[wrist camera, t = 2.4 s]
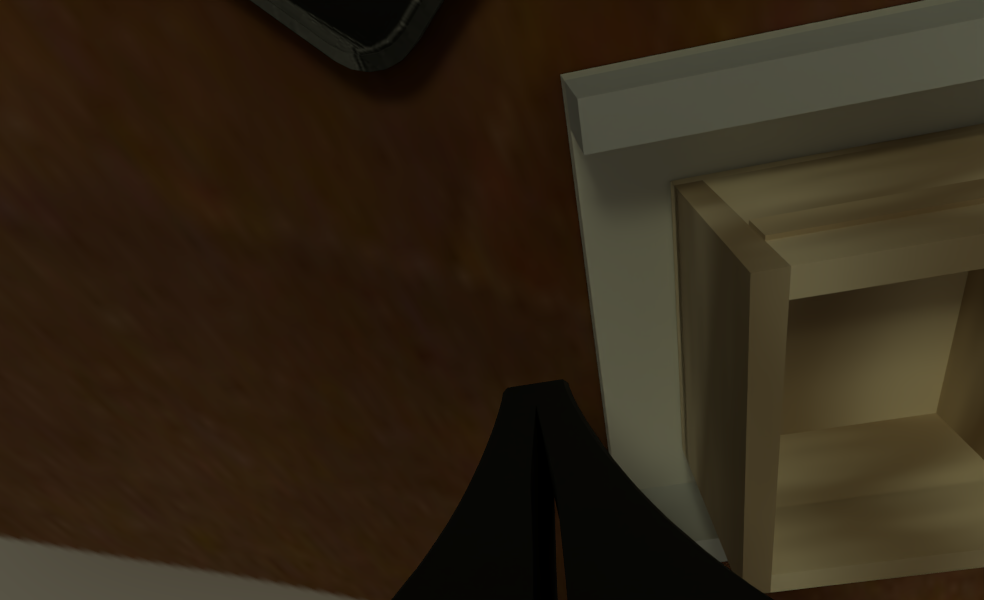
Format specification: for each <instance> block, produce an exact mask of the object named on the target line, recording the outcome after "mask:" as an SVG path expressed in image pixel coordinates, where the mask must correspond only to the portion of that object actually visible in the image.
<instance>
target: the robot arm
mask: <svg viewBox="0 0 984 600" xmlns="http://www.w3.org/2000/svg"><path fill="white" fill-rule="evenodd" d="M554 497H555V501H556V506H557V510H558V514H559V519H560V527H561V537H562V546H563V556H564V566H565V576H566V587H567V598H568V600H773V599H771V598H770V597H768V596H767V595H765V594H764V593H763V592H761V591H760V590H758V589H757V588H755V587H754V586H752V585H751V584H749V583H748V582H747V581H745V580H744V579H742V578H741V577H740V576H738V575H737V574H735V573H734V572H733V571H731V570H730V569H729V568H727V567H726V566H725V565H723V564H722V563H721V562H720V561H718V560H717V559H716V558H714V557H713V556H712V555H711V554H709V553H708V552H707V551H705V550H704V549H703V548H702V547H701V546H700V545H698V544H697V543H696V542H695V541H694V540H693V539H691V538H690V537H689V536H688V535H687V534H686V533H685V532H683V531H682V530H681V529H680V528H679V527H678V526H676V525H675V524H674V523H673V522H672V521H671V520H670V519H669V518H667V517H666V516H665V515H664V514H663V513H662V512H661V511H660V510H659V509H658V508H657V507H656V506H655V505H654V504H653V503H652V502H651V501H650V500H649V499H648V498H647V497H646V496H645V495H644V493H643V492H642V491H641V490H640V489H639V488H638V487H637V486H636V485H635V484H634V483H633V482H632V480H631V479H630V478H629V477H628V476H627V475H626V473H625V472H624V471H623V470H622V469H621V467H620V466H619V465H618V464H617V462H616V461H615V460H614V459H613V458H612V456H611V455H610V454H609V452H608V451H607V450H606V448H605V447H604V446H603V444H602V443H601V441H600V440H599V438H598V437H597V436H596V434H595V433H594V431H593V430H592V428H591V427H590V425H589V424H588V422H587V421H586V419H585V417H584V416H583V414H582V412H581V410H580V409H579V407H578V405H577V403H576V401H575V399H574V397H573V395H572V393H571V390H570V388H569V384H568V383H567V382H566V381H564V380H563V379H562V380H555V381H549V382H542V383H536V384H529V385H523V386H516V387H510V388H507V389H506V390H505V391H504V393H503V397H502V401H501V405H500V409H499V413H498V416H497V419H496V422H495V425H494V428H493V431H492V433H491V436H490V438H489V441H488V443H487V446H486V449H485V451H484V454H483V456H482V458H481V461H480V463H479V465H478V467H477V469H476V471H475V473H474V475H473V478H472V480H471V482H470V484H469V486H468V488H467V490H466V492H465V494H464V496H463V497H462V499H461V501H460V503H459V505H458V507H457V508H456V510H455V512H454V513H453V515H452V517H451V518H450V520H449V522H448V523H447V525H446V527H445V528H444V530H443V531H442V533H441V534H440V536H439V537H438V539H437V540H436V542H435V543H434V545H433V546H432V548H431V549H430V551H429V552H428V554H427V555H426V556H425V558H424V559H423V561H422V562H421V563H420V565H419V566H418V567H417V569H416V570H415V571H414V572H413V574H412V575H411V576H410V577H409V579H408V580H407V581H406V582H405V584H404V585H403V586H402V587H401V589H400V590H399V591H398V592H397V594H396V595H395V596H394V597H393V599H392V600H558V598H557V573H556V540H555V509H554Z"/></svg>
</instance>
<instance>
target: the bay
mask: <svg viewBox="0 0 984 600" xmlns="http://www.w3.org/2000/svg"><path fill="white" fill-rule="evenodd" d="M560 76H561V84H562V92H563V99H564V107H565V115H566V123H567V131H568V138H569V146H570V154H571V162H572V170H573V177H574V185H575V193H576V201H577V209H578V216H579V224H580V232H581V240H582V248H583V255H584V263H585V271H586V279H587V287H588V294H589V302H590V310H591V318H592V326H593V333H594V341H595V349H596V357H597V365H598V372H599V380H600V388H601V396H602V404H603V411H604V419H605V427H606V435H607V443H608V450H609V454H610V455H611V456H612V458H613V459H614V460H615V461H616V462H617V464H618V465H619V466H620V467H621V469H622V470H623V471H624V472H625V473H626V475H627V476H628V477H629V478H630V479H631V480H632V482H633V483H634V484H635V485H636V486H637V487H638V488H639V489H640V490H641V491H642V492H643V493H644V495H645V496H646V497H647V498H648V499H649V500H650V501H651V502H652V503H653V504H654V505H655V506H656V507H657V508H658V509H659V510H660V511H661V512H662V513H663V514H664V515H665V516H666V517H667V518H669V519H670V520H671V521H672V522H673V523H674V524H675V525H676V526H678V527H679V528H680V529H681V530H682V531H683V532H685V533H686V534H687V535H688V536H689V537H690V538H691V539H693V540H694V541H695V542H696V543H697V544H698V545H700V546H701V547H702V548H703V549H704V550H705V551H707V552H708V553H709V554H711V555H712V556H713V557H714V558H716V559H717V560H718V561H720V562H724V561H728V560H727V557H726V555H725V552H724V550H723V548H722V545H721V543H720V540H719V538H718V535H717V533H716V530H715V528H714V525H713V523H712V520H711V518H710V515H709V513H708V511H707V508H706V506H705V503H704V501H703V498H702V496H701V493H700V491H699V488H698V486H697V483H696V481H695V479H694V476H693V474H692V471H691V469H690V466H689V464H688V461H687V459H686V456H685V454H684V451H683V449H682V428H681V405H680V383H679V361H678V339H677V317H676V294H675V272H674V250H673V228H672V206H671V183H670V181H674V180H679V179H684V178H690V177H695V176H701V175H706V174H712V173H717V172H723V171H728V170H733V169H739V168H744V167H750V166H755V165H761V164H766V163H771V162H777V161H782V160H788V159H793V158H799V157H804V156H810V155H815V154H820V153H826V152H831V151H837V150H842V149H848V148H853V147H858V146H864V145H869V144H875V143H880V142H886V141H891V140H896V139H902V138H907V137H913V136H918V135H924V134H929V133H935V132H940V131H945V130H951V129H956V128H962V127H967V126H973V125H978V124H983V123H984V0H924V1H919V2H914V3H909V4H904V5H899V6H894V7H889V8H884V9H880V10H875V11H870V12H865V13H860V14H855V15H850V16H845V17H840V18H835V19H830V20H826V21H821V22H816V23H811V24H806V25H801V26H796V27H791V28H786V29H781V30H776V31H772V32H767V33H762V34H757V35H752V36H747V37H742V38H737V39H732V40H727V41H722V42H718V43H713V44H708V45H703V46H698V47H693V48H688V49H683V50H678V51H673V52H668V53H663V54H659V55H654V56H649V57H644V58H639V59H634V60H629V61H624V62H619V63H614V64H609V65H605V66H600V67H595V68H590V69H585V70H580V71H575V72H570V73H565V74H560Z"/></svg>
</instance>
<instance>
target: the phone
mask: <svg viewBox="0 0 984 600" xmlns="http://www.w3.org/2000/svg"><path fill="white" fill-rule="evenodd" d="M250 1H252V2H253V3H254V4H256V5H257V6H259V7H260V8H261V9H263V10H264V11H266V12H267V13H268V14H270V15H271V16H273V17H274V18H275V19H277V20H278V21H280V22H281V23H282V24H284V25H285V26H286V27H288V28H289V29H291V30H292V31H293V32H295V33H296V34H298V35H299V36H300V37H302V38H303V39H305V40H306V41H307V42H309V43H310V44H312V45H313V46H314V47H316V48H317V49H319V50H320V51H321V52H323V53H324V54H326V55H327V56H328V57H330V58H331V59H332V60H334V61H336V62H338V63H340V64H342V65H344V66H346V67H348V68H349V69H353V70H359V71H365V72H373V71H379V70H385V69H387V68H389V67H391V66H393V65H395V64H396V63H398V62H400V61H402V60H403V59H404V58H405V57H406V56H407V55H408V53H409V52H410V51H411V50H412V49H413V48H414V47H415V45H416V44H417V43H418V42H419V40H420V38H421V37H422V35H423V34H424V32H425V30H426V29H427V27H428V25H429V24H430V22H431V21H432V20H431V19H433V16H435V14H436V12H437V11H438V9H439V8H440V6H441V4H442V3H443V1H444V0H250Z"/></svg>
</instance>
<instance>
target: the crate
mask: <svg viewBox="0 0 984 600" xmlns="http://www.w3.org/2000/svg"><path fill="white" fill-rule="evenodd" d="M670 183H671V206H672V228H673V250H674V272H675V294H676V317H677V339H678V361H679V383H680V405H681V428H682V449H683V451H684V454H685V456H686V459H687V461H688V464H689V466H690V469H691V471H692V474H693V476H694V479H695V481H696V483H697V486H698V488H699V491H700V493H701V496H702V498H703V501H704V503H705V506H706V508H707V511H708V513H709V515H710V518H711V520H712V523H713V525H714V528H715V530H716V533H717V535H718V538H719V540H720V543H721V545H722V548H723V550H724V552H725V555H726V557H727V560H728V562H729V565H730V567H731V570H732V571H733V572H734V573H735V574H737V575H738V576H740V577H741V578H742V579H744V580H745V581H747V582H748V583H749V584H751V585H752V586H754V587H755V588H757V589H758V590H760V591H761V592H763V593H770V592H779V591H787V590H796V589H804V588H812V587H821V586H829V585H837V584H846V583H854V582H863V581H871V580H879V579H888V578H896V577H904V576H913V575H921V574H929V573H938V572H946V571H955V570H963V569H971V568H980V567H984V123H983V124H978V125H973V126H967V127H962V128H956V129H951V130H945V131H940V132H935V133H929V134H924V135H918V136H913V137H907V138H902V139H896V140H891V141H886V142H880V143H875V144H869V145H864V146H858V147H853V148H848V149H842V150H837V151H831V152H826V153H820V154H815V155H810V156H804V157H799V158H793V159H788V160H782V161H777V162H771V163H766V164H761V165H755V166H750V167H744V168H739V169H733V170H728V171H723V172H717V173H712V174H706V175H701V176H695V177H690V178H684V179H679V180H674V181H670Z"/></svg>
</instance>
